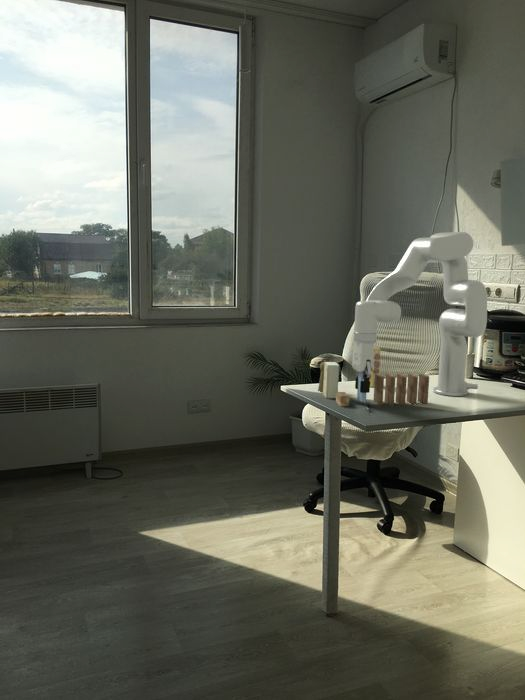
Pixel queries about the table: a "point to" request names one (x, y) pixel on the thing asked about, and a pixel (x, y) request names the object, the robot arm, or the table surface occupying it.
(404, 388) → the domino
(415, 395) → the domino
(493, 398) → the table surface
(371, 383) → the candy box
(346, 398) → the end block
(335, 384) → the skincare box
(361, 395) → the domino
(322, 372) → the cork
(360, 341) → the robot arm
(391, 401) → the domino
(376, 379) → the domino
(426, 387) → the domino
